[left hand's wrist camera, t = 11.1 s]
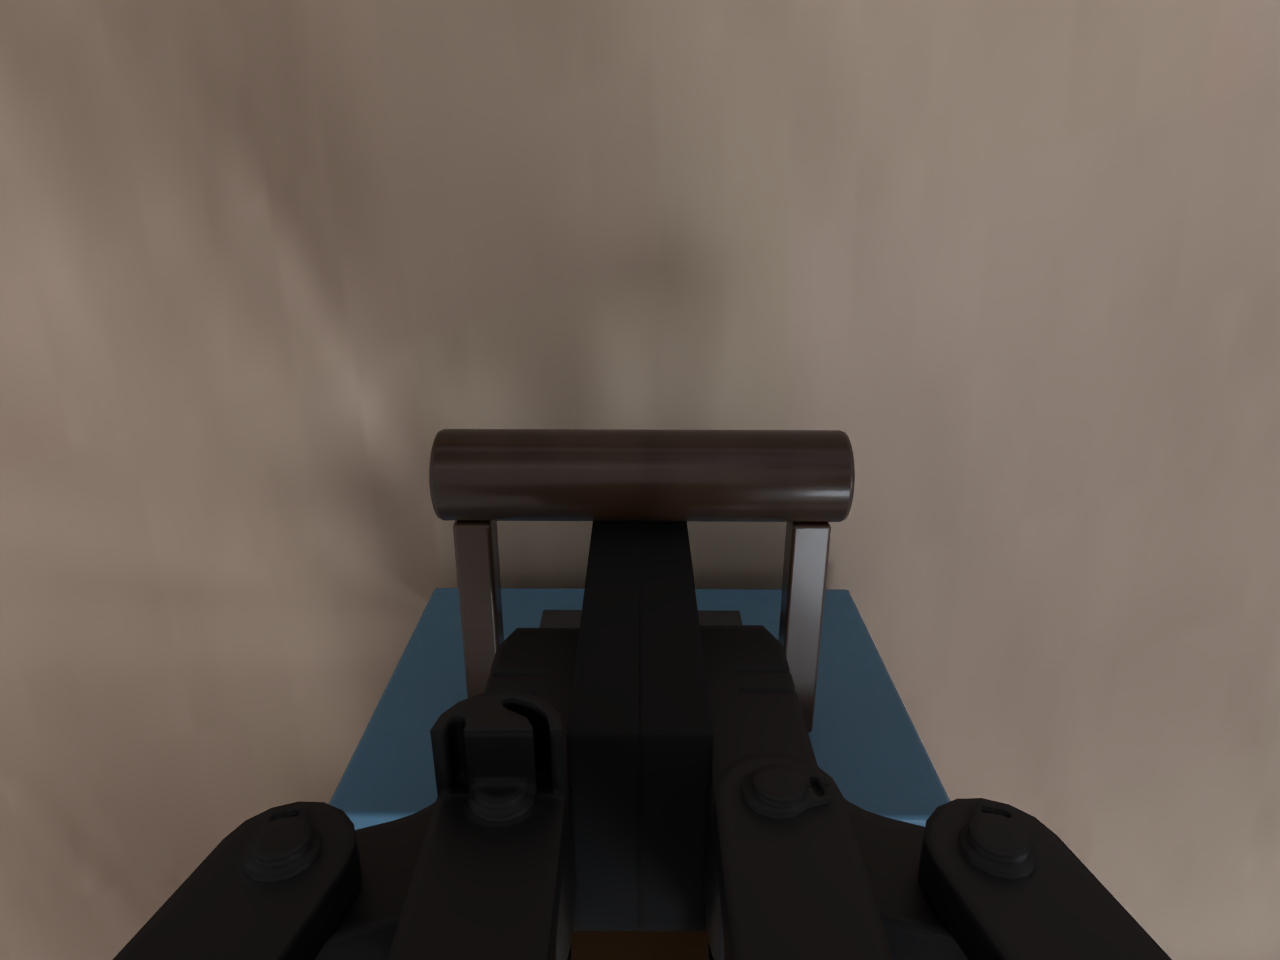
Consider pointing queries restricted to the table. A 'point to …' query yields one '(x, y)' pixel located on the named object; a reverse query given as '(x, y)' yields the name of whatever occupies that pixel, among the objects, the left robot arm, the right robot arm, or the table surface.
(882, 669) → the drawer
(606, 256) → the table surface
